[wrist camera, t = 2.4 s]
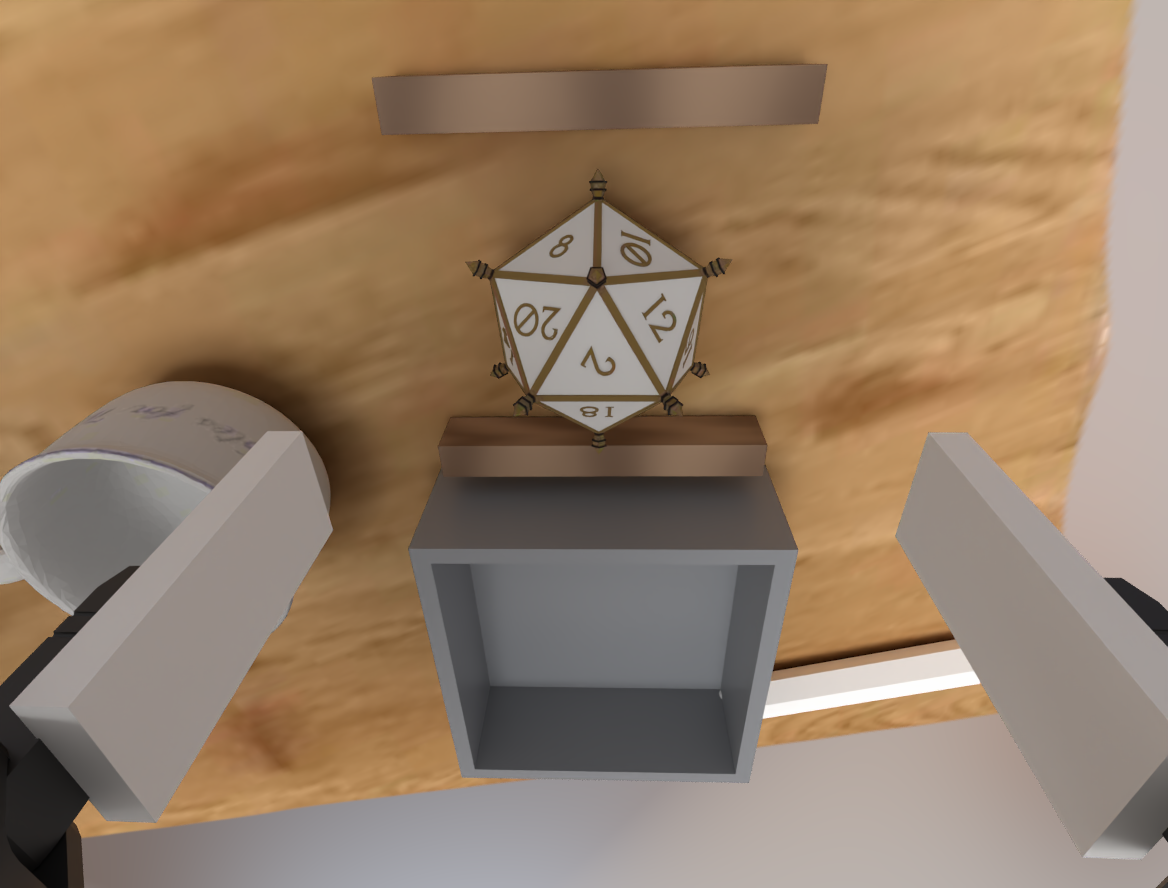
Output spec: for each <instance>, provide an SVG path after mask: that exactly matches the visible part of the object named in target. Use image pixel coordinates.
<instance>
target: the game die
mask: <svg viewBox="0 0 1168 888" xmlns="http://www.w3.org/2000/svg"><path fill="white" fill-rule="evenodd" d="M589 183H591V189H590V191H592V194H593V199H592V200H591V201H590V202H588V203H587V204H586V205H584V206H583V207H581V208H580V209H579V210H577V211H576V212H574V213H573V214H572V215H570V216H569V217H567V218H566V219H564V220H563V221H562V222H560V223H559V224H557V225H556V226H555V227H553V228H552V229H550V230H549V231H548V232H546V233H545V234H543V235H542V236H541V237H539V238H538V239H536V240H535V241H534V242H532V243H531V244H529V245H528V246H526V247H525V248H524V249H522V250H521V251H519V252H518V253H517V254H515V255H514V256H512V257H511V258H510V259H508V260H507V261H505V262H504V263H503V264H501V265H500V266H498V267H497V268H495V269H494V270H493V269H491V268H489V267H488V264H486V263H485V264H483V263H481V261H480V260H478V261H473V262H466V264H467V265H468V267H469V268H470V270H471V271H472V273H473V276H475V275H476V276H479V277H480V279H482V278H488V279H489V280H490V283H491V288H492V294H493V299H494V305H495V310H496V315H497V321H498V326H499V332H500V337H501V343H502V348H503V354H504V359H505V363H503V364H502V363H499V365H494V368H493V370H492V372H491V374H490V376H494V377H497V378H498V379H499V378H501V377H503V376H504V375H506V374H508V371H510V373H511V374H512V376H513V377H514V379H515V380H516V382H517V383H518V384H519V386H520V387H521V389H522V390H523V392H524V393H525V394H526V396H525V397H523V396H522V397H521V398H520V399H519V400H518V401H517V402H516V403H514V404H513V406H514V414H513V417H514V416H519V415H528V411H529V410H532V405H533V403H536V404H538V405H540V406H542V407H544V408H546V409H548V410H550V411H552V412H554V413H556V414H558V415H560V416H562V417H564V418H566V419H568V420H570V421H572V422H574V423H576V424H578V425H580V426H582V427H584V428H586V429H588V430H590V431H592V432H594V434H595V435H594V438H593V439H592V441H593V444H592V445H591V447H594V449H595V450H596V451H597V453H598V454H600V453H601V452H602V450H603V449H604V447H607V445H606V444H605V441H606V439H605V438H604V435H603V434H604V432H606V431H608V430H610V429H612V428H613V427H615V426H617V425H619V424H621V423H623V422H625V421H627V420H629V419H631V418H633V417H635V416H637V415H639V414H640V413H642V412H644V411H646V410H648V409H650V408H652V407H654V406H656V405H658V404H660V403H663V405H664V410H667V411H668V415H677V416H682V406H683V404H682V403H681V402H679V401H678V399H677V398H675V397H674V396H672V397H671V394H672V392H673V391H674V390H675V389H676V387H677V386H678V385H679V383H680V382H681V381H682V380H683V378H684V377H685V376H686V375H687V373H688V372H689V371H692V374H694V375H696V376H698V377H700V378H702V377H703V376H708V375H710V374H709V372H708V370H707V368H706V364H701V362H698V363H694V358H695V352H696V346H697V340H698V334H699V328H700V322H701V315H702V309H703V303H704V297H705V291H706V285H707V279H708V278H709V277H710V276H716V277H718V275H719V274H721V273H723V274H725V270H726V269H727V267H728V266H729V264H730V263H731V261H732V259H720V258H717V259H716V261H714V262H713V261H711V262H710V263H709V265H708V266H707V267H702V266H701V265H699V264H698V263H696V262H695V261H693V260H692V259H690V258H689V257H687V256H686V255H684V254H683V253H682V252H680V251H679V250H677V249H676V248H674V247H673V246H671V245H670V244H668V243H667V242H665V241H664V240H662V239H661V238H660V237H658V236H657V235H655V234H654V233H652V232H651V231H649V230H648V229H646V228H645V227H643V226H642V225H640V224H639V223H638V222H636V221H635V220H633V219H632V218H630V217H629V216H627V215H626V214H624V213H623V212H621V211H620V210H618V209H617V208H615V207H614V206H613V205H611V204H610V203H608V202H607V201H605V200H604V198H603V196H604V192H605V191H606V189H605V183H607V181H605V180H604V178H603V176H602V174H601V172H600V171H599V169H597V171H596V173H595V175H594V177H593V179H592V180H591V181H589ZM682 417H683V416H682Z"/></svg>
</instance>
